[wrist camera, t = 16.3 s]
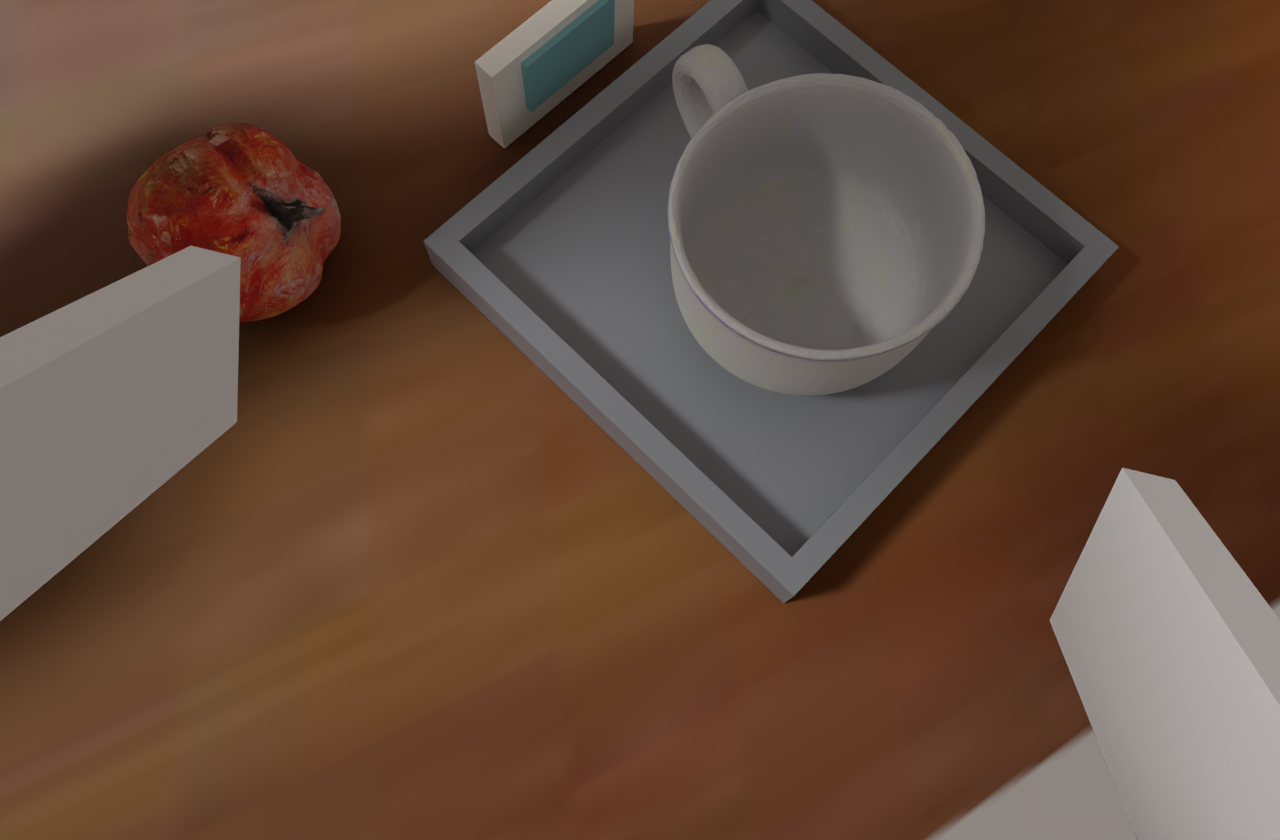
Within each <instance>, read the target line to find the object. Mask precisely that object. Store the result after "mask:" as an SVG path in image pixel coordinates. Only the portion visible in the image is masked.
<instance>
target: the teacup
mask: <svg viewBox="0 0 1280 840" xmlns="http://www.w3.org/2000/svg"><path fill="white" fill-rule="evenodd" d="M672 83H673V92H674V96H675V100H676V103H677V106H678V109H679V112H680V114H681V117H682V119H683V122H684V124H685V126H686V129H687V131H688V133H689V135H690V137H691V140H690V142H689V143H688V144H687V146H686V149H685V151H684V153H683V155H682V156H681V158H680V160H679V161H678V163H677V166H676V169H675V172H674V175H673V179H672V182H671V185H670V189H669V196H668V232H669V237H670V261H671V272H672V280H673V287H674V291H675V295H676V299H677V302H678V305H679V308H680V311H681V313H682V316H683V318H684V320H685V322H686V324H687V326H688V328H689V329H690V331H691V333H692V334H693V336H694V337H695V339H696V340H697V342H698V343H699V344H700V346H701V347H702V348H703V349H704V350H705V351H706V352H707V353H708V354H709V355H710V356H711V357H712V358H713V359H714V360H715V361H716V362H717V363H718V364H720V365H721V366H722V367H723V368H725V369H726V370H727V371H729V372H730V373H732V374H733V375H735V376H737V377H739V378H740V379H742V380H744V381H746V382H748V383H750V384H752V385H755V386H757V387H760V388H763V389H766V390H769V391H773V392H777V393H781V394H789V395H797V396H817V395H827V394H833V393H838V392H842V391H845V390H849V389H853V388H855V387H858V386H860V385H863V384H865V383H867V382H869V381H871V380H873V379H875V378H877V377H879V376H880V375H882V374H884V373H885V372H887V371H888V370H890V369H891V368H892V367H894V366H895V365H897V364H898V363H899V362H900V361H901V360H902V359H903V358H904V357H906V356H907V355H908V354H909V353H910V352H911V351H912V350H913V349H914V348H915V347H916V346H917V345H918V344H919V343H920V342H921V341H922V340H923V339H924V337H925V336H926V335H927V334H928V333H929V332H930V330H931V329H933V328H934V327H935V326H936V325H938V324H939V323H940V322H941V321H942V320H943V319H944V318H945V317H946V316H947V315H948V314H949V313H950V312H951V311H952V310H953V309H954V308H955V307H956V305H957V304H958V302H959V301H960V300H961V298H962V297H963V295H964V294H965V293H966V291H967V290H968V287H969V285H970V283H971V281H972V279H973V277H974V274H975V272H976V269H977V266H978V263H979V261H980V256H981V251H982V249H983V239H984V234H985V209H984V202H983V196H982V191H981V187H980V184H979V181H978V178H977V174H976V171H975V169H974V167H973V165H972V163H971V160H970V159H969V157H968V156H967V154H966V152H965V150H964V149H963V147H962V145H961V144H960V142H959V141H958V139H957V138H956V136H955V135H954V134H953V132H951V131H950V130H948V129H947V127H946V126H945V124H944V123H943V122H942V120H940V119H938V118H936V117H935V116H934V115H933V114H932V113H931V112H930V111H928V110H927V109H926V108H925V107H924V106H923V105H922V104H921V103H919V102H917V101H915V100H914V99H912V98H911V97H909V96H907V95H906V94H904V93H902V92H901V91H899V90H897V89H894V88H892V87H890V86H887V85H884V84H881V83H878V82H875V81H872V80H869V79H865V78H862V77H856V76H851V75H845V74H828V73H816V74H805V75H799V76H793V77H789V78H785V79H780V80H776V81H773V82H770V83H767V84H764V85H761V86H758V87H756V88H753V89H751V90H748V88H747V86H746V84H745V82H744V79H743V77H742V75H741V74H740V72H739V70H738V68H737V66H736V65H735V64H734V62H733V61H732V60H731V58H730V57H729V56H728V55H727V54H726V53H725V52H724V51H723V50H722V49H720V48H719V47H717V46H714V45H711V44H703V45H700V46H696V47H694V48H692V49H691V50H689V51H688V52H686V53H685V54H684V55H682V56H681V57H680V58H679V59H678V60H677V61H676V64H675V66H674V68H673V73H672Z"/></svg>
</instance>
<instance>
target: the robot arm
mask: <svg viewBox="0 0 1280 840" xmlns="http://www.w3.org/2000/svg"><path fill="white" fill-rule="evenodd" d="M240 264H241V257H236V256H232V255H228V254H224V253H220V252H215V251H211V250H207V249H203V248H199V247H194V246H189V247H187V248H185V249H183V250H181V251H179V252H177V253H175V254H172V255H170V256H168V257H166V258H164V259H162V260H160V261H158V262H156V263H154V264H152V265H150V266H147V267H145V268H143V269H141V270H139V271H137V272H135V273H133V274H131V275H129V276H127V277H125V278H122V279H120V280H118V281H116V282H114V283H112V284H110V285H108V286H106V287H104V288H102V289H100V290H98V291H95V292H93V293H91V294H89V295H87V296H85V297H83V298H81V299H79V300H77V301H75V302H73V303H70V304H68V305H66V306H64V307H62V308H60V309H58V310H56V311H54V312H52V313H50V314H48V315H45V316H43V317H41V318H39V319H37V320H35V321H33V322H31V323H29V324H27V325H25V326H23V327H20V328H18V329H16V330H14V331H12V332H10V333H8V334H6V335H4V336H2V337H0V621H1V620H2V619H4V618H5V617H6V616H7V615H8V614H9V613H11V612H12V611H13V610H14V609H15V608H17V607H18V606H19V605H20V604H21V603H23V602H24V601H25V600H26V599H27V598H28V597H30V596H31V595H32V594H33V593H34V592H36V591H37V590H38V589H39V588H40V587H42V586H43V585H44V584H45V583H46V582H47V581H49V580H50V579H51V578H52V577H53V576H55V575H56V574H57V573H58V572H59V571H61V570H62V569H63V568H64V567H65V566H66V565H68V564H69V563H70V562H71V561H72V560H74V559H75V558H76V557H77V556H78V555H80V554H81V553H82V552H83V551H84V550H85V549H87V548H88V547H89V546H90V545H91V544H93V543H94V542H95V541H96V540H97V539H99V538H100V537H101V536H102V535H103V534H105V533H106V532H107V531H108V530H109V529H110V528H112V527H113V526H114V525H115V524H116V523H118V522H119V521H120V520H121V519H122V518H124V517H125V516H126V515H127V514H128V513H129V512H131V511H132V510H133V509H134V508H135V507H137V506H138V505H139V504H140V503H141V502H143V501H144V500H145V499H146V498H147V497H148V496H150V495H151V494H152V493H153V492H154V491H156V490H157V489H158V488H159V487H160V486H162V485H163V484H164V483H165V482H166V481H167V480H169V479H170V478H171V477H172V476H173V475H175V474H176V473H177V472H178V471H179V470H181V469H182V468H183V467H184V466H185V465H186V464H188V463H189V462H190V461H191V460H192V459H194V458H195V457H196V456H197V455H198V454H200V453H201V452H202V451H203V450H204V449H205V448H207V447H208V446H209V445H210V444H211V443H213V442H214V441H215V440H216V439H217V438H219V437H220V436H221V435H222V434H223V433H225V432H226V431H227V430H228V429H229V428H230V427H232V426H233V425H234V424H235V423H236V422H237V402H238V356H239V310H240ZM1050 623H1051V625H1052V628H1053V630H1054V633H1055V635H1056V638H1057V640H1058V643H1059V645H1060V648H1061V650H1062V653H1063V655H1064V658H1065V660H1066V663H1067V665H1068V668H1069V670H1070V673H1071V675H1072V678H1073V680H1074V683H1075V685H1076V688H1077V690H1078V693H1079V695H1080V698H1081V701H1082V703H1083V706H1084V708H1085V711H1086V713H1087V716H1088V718H1089V721H1090V723H1091V726H1092V728H1093V731H1094V733H1095V736H1096V738H1097V740H1098V743H1099V746H1100V748H1101V750H1102V753H1103V756H1104V758H1105V761H1106V763H1107V766H1108V768H1109V771H1110V773H1111V776H1112V778H1113V781H1114V783H1115V786H1116V788H1117V791H1118V793H1119V796H1120V798H1121V801H1122V803H1123V806H1124V808H1125V811H1126V813H1127V816H1128V818H1129V821H1130V823H1131V826H1132V828H1133V831H1134V833H1135V836H1136V838H1137V840H1280V619H1279V618H1278V617H1277V616H1276V614H1275V613H1274V611H1273V610H1272V609H1271V607H1270V606H1269V605H1268V603H1267V602H1266V601H1265V599H1264V598H1263V597H1262V595H1261V594H1260V593H1259V591H1258V590H1257V589H1256V587H1255V586H1254V585H1253V583H1252V582H1251V581H1250V579H1249V578H1248V577H1247V575H1246V574H1245V573H1244V571H1243V570H1242V569H1241V567H1240V566H1239V565H1238V563H1237V562H1236V561H1235V559H1234V558H1233V557H1232V555H1231V554H1230V553H1229V551H1228V550H1227V549H1226V547H1225V546H1224V545H1223V543H1222V542H1221V541H1220V539H1219V538H1218V537H1217V535H1216V534H1215V533H1214V531H1213V530H1212V529H1211V527H1210V526H1209V524H1208V523H1207V522H1206V520H1205V519H1204V518H1203V516H1202V515H1201V514H1200V512H1199V511H1198V510H1197V508H1196V507H1195V506H1194V504H1193V503H1192V502H1191V500H1190V499H1189V498H1188V496H1187V495H1186V494H1185V492H1184V491H1183V490H1182V488H1181V487H1180V486H1179V484H1178V483H1177V482H1176V480H1172V479H1168V478H1164V477H1160V476H1156V475H1151V474H1147V473H1143V472H1139V471H1135V470H1130V469H1126V468H1122V469H1121V471H1120V473H1119V475H1118V477H1117V480H1116V482H1115V484H1114V486H1113V488H1112V490H1111V492H1110V494H1109V496H1108V499H1107V501H1106V503H1105V505H1104V507H1103V509H1102V511H1101V513H1100V515H1099V517H1098V520H1097V522H1096V524H1095V526H1094V528H1093V530H1092V532H1091V534H1090V536H1089V539H1088V541H1087V543H1086V545H1085V547H1084V549H1083V551H1082V553H1081V555H1080V557H1079V560H1078V562H1077V564H1076V566H1075V568H1074V570H1073V572H1072V574H1071V576H1070V579H1069V581H1068V583H1067V585H1066V587H1065V589H1064V591H1063V593H1062V595H1061V597H1060V600H1059V602H1058V604H1057V606H1056V608H1055V610H1054V612H1053V614H1052V616H1051V618H1050Z"/></svg>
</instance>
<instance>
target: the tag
mask: <svg viewBox="0 0 1280 840" xmlns="http://www.w3.org/2000/svg"><path fill="white" fill-rule="evenodd" d="M633 18H634V0H552V1H550V2H549V3H548V4H547V5H545V6H544V7H543V8H542V9H540V10H539V11H538V12H537V13H535V14H534V15H533V16H531V17H530V18H529V19H528V20H526V21H525V22H524V23H523V24H521V25H520V26H519V27H518V28H516V29H515V30H514V31H513V32H511V33H510V34H509V35H508V36H506V37H505V38H504V39H503V40H501V41H500V42H499V43H498V44H496V45H495V46H494V47H492V48H491V49H490V50H489V51H487V52H486V53H485V54H484V55H482V56H481V57H480V58H479V59H477V60H476V61H475V67H476V73H477V78H478V83H479V88H480V93H481V98H482V103H483V108H484V113H485V118H486V123H487V128H488V133H489V135H490V136H491V137H492V138H493V139H494V140H495V141H496V142H497V143H498V144H499V145H501V146H502V147H503V148H504V149H505V148H506V147H507V146H509V145H510V144H511V143H512V142H513V141H515V140H516V139H517V138H518V137H519V136H521V135H522V134H523V133H524V132H525V131H527V130H528V129H529V128H530V127H531V126H533V125H534V124H535V123H536V122H537V121H539V120H540V119H541V118H542V117H543V116H545V115H546V114H547V113H548V112H549V111H551V110H552V109H553V108H554V107H556V106H557V105H558V104H559V103H560V102H562V101H563V100H564V99H565V98H566V97H568V96H569V95H570V94H571V93H572V92H574V91H575V90H576V89H577V88H578V87H580V86H581V85H582V84H583V83H584V82H586V81H587V80H588V79H589V78H590V77H592V76H593V75H594V74H595V73H596V72H598V71H599V70H600V69H601V68H602V67H604V66H605V65H606V64H607V63H608V62H610V61H611V60H612V59H613V58H615V57H616V56H617V55H618V54H619V53H621V52H622V51H623V50H624V49H625V48H627V47H628V46H629V45H630V44H631V43H633Z"/></svg>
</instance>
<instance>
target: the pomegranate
mask: <svg viewBox="0 0 1280 840" xmlns="http://www.w3.org/2000/svg"><path fill="white" fill-rule="evenodd" d="M126 218H127V224H128V227H129V229H128V237H129V242H130V244H131V245H132V247H133V248H134V250H135V251H136V253H137V254H138V255H139V256H140V258H141V259H142V260H143V261H144V262H145V263H146V265H147V266H150V265H152V264H154V263H156V262H158V261H160V260H162V259H164V258H166V257H168V256H170V255H172V254H175V253H177V252H179V251H181V250H183V249H185V248H187V247H189V246H194V247H199V248H203V249H207V250H211V251H215V252H220V253H224V254H228V255H232V256H236V257H241V264H240V310H239V323H244V322H250V321H258V320H263V319H267V318H271V317H274V316H276V315H279V314H281V313H283V312H286V311H288V310H289V309H291V308H293V307H295V306H296V305H298V304H299V303H301V302H302V301H304V300H305V299H306V298H308V297H309V296H310V295H311V294H312V293H313V292H314V291H315V290H316V289H317V288H318V286H319V284H320V281H321V279H322V272H323V264H324V261H325V260H326V259H327V257H328V256H329V254H330V253H331V252H332V250H333V249H334V248H335V247H336V245H337V243H338V240H339V238H340V235H341V216H340V213H339V208H338V205H337V201H336V200H335V198H334V196H333V194H332V192H331V190H330V189H329V187H328V186H327V184H326V183H325V182H324V180H323V179H322V177H321V176H320V174H319V173H318V172H317V171H315V170H314V169H312V168H310V167H308V166H306V165H304V164H303V163H302V162H300V161H299V160H298V159H296V158H295V157H294V155H293V154H292V152H291V151H290V150H289V149H288V147H287V146H286V145H285V144H284V143H283V142H282V141H281V140H280V139H278V138H277V137H275V136H274V135H272V134H271V133H269V132H266V131H264V130H262V129H260V128H257V127H254V126H252V125H249V124H247V123H229V124H225V125H220V126H216V127H214V128H212V129H210V130H209V131H208V132H207V133H206V134H205V135H204V136H202V137H199V138H196V139H193V140H190V141H188V142H185V143H183V144H181V145H180V146H178V147H176V148H175V149H173V150H172V151H170V152H168V153H166V154H163V155H162V156H161V157H160V158H159V159H157V160H156V161H155V162H154V163H153V164H152V165H151V167H150V168H149V169H148V170H147V171H146V172H145V173H144V174H143V175H141V176H140V177H139V179H138V180H137V182H136V184H135V185H134V186H133V187H132V189H131V191H130V195H129V199H128V205H127V217H126Z"/></svg>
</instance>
